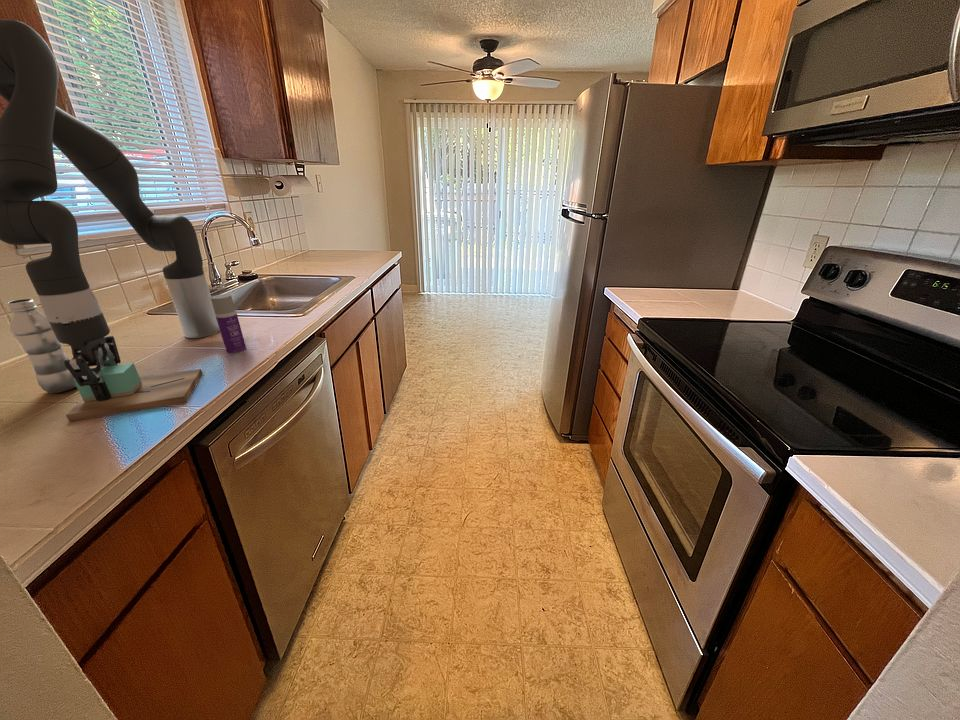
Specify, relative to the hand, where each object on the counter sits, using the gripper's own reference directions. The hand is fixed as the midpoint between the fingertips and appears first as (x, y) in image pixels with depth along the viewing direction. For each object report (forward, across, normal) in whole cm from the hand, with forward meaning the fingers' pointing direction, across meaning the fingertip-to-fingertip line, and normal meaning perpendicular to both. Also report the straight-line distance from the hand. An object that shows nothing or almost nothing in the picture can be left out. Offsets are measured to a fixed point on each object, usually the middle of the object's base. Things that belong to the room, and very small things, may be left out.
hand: (110, 392), depth 82 cm
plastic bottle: (+2, -10, -12) cm, 16 cm away
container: (+2, -20, +20) cm, 28 cm away
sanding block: (0, 0, +1) cm, 1 cm away
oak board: (+2, 0, +5) cm, 5 cm away
